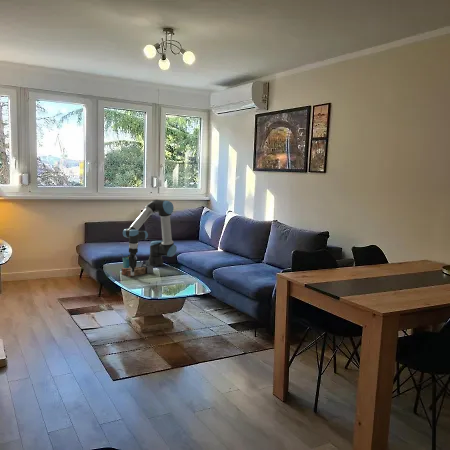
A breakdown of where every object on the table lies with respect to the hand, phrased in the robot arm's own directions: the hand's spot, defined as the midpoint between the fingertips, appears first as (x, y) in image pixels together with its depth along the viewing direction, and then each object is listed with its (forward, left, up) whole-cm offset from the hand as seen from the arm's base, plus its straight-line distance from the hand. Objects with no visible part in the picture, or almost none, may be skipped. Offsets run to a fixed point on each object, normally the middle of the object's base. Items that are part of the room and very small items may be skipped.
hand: (132, 275), depth 374 cm
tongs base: (-8, -10, -2) cm, 13 cm away
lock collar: (-19, -9, -1) cm, 21 cm away
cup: (-6, -26, -2) cm, 27 cm away
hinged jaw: (-6, -5, -1) cm, 8 cm away
